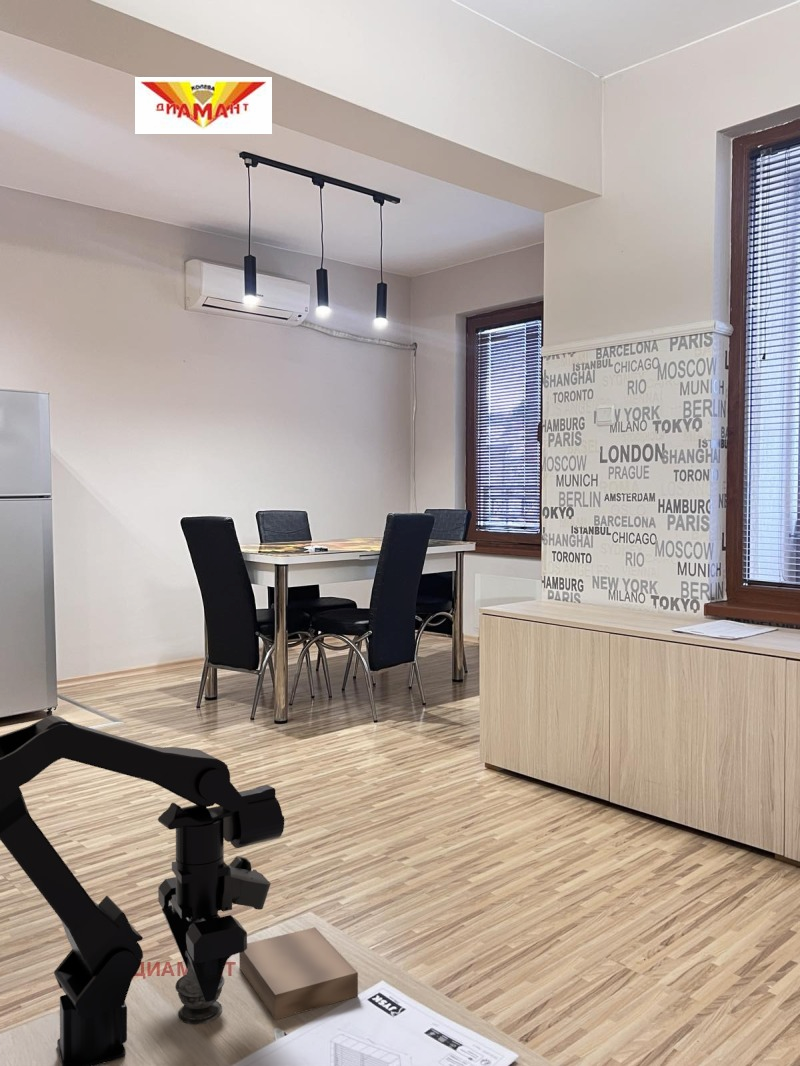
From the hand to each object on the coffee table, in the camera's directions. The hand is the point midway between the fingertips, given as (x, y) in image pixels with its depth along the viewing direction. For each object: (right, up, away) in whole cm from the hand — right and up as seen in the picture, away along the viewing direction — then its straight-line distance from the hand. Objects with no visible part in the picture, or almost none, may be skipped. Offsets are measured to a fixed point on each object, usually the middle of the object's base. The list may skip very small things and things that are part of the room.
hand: (200, 983), depth 105 cm
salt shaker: (0, -4, 0) cm, 4 cm away
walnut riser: (+11, -3, +7) cm, 14 cm away
